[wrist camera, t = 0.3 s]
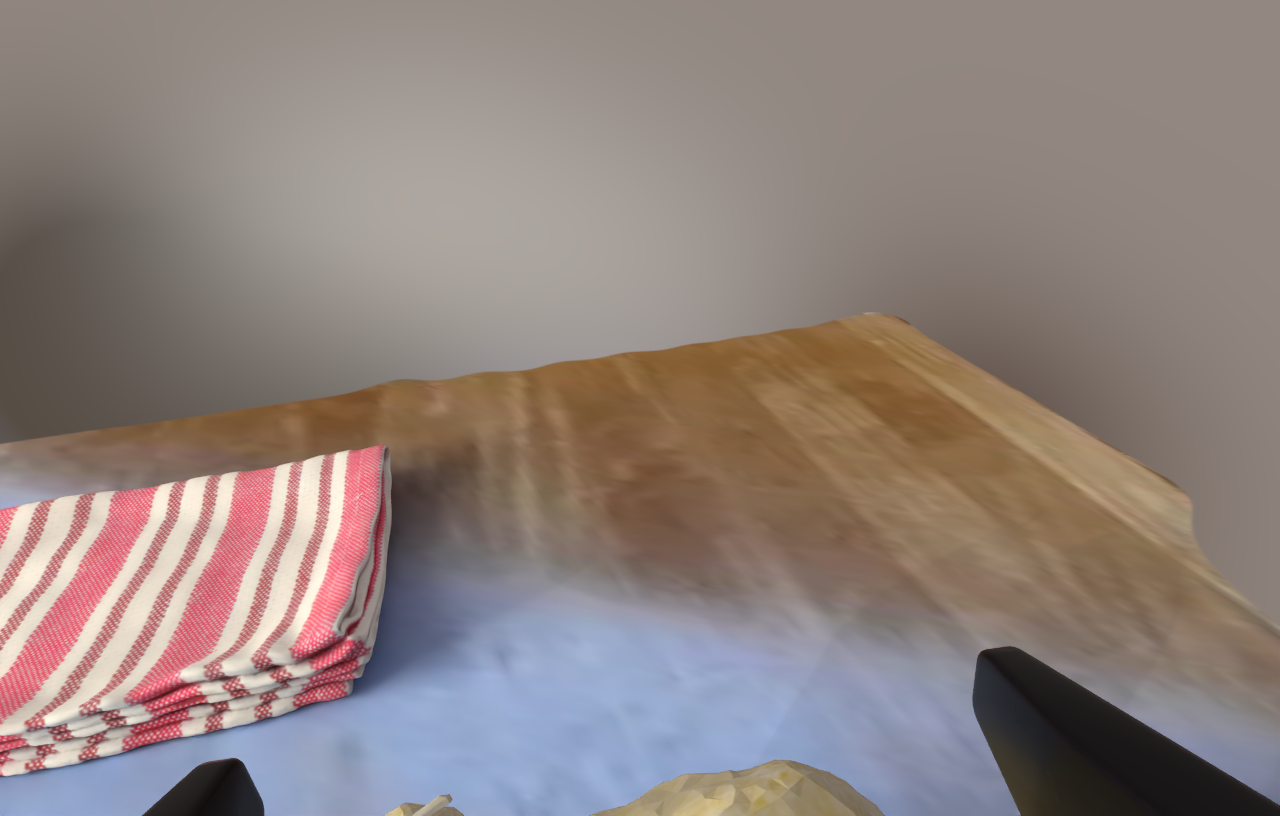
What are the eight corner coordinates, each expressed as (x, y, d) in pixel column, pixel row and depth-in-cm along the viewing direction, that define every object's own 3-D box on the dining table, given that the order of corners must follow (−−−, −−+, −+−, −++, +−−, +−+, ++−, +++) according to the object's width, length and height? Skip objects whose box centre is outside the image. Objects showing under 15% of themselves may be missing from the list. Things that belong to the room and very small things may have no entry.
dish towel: (382, 696, 28) (363, 636, 26) (-332, 862, 23) (-413, 802, 21) (400, 471, 42) (388, 423, 41) (-38, 544, 38) (-73, 493, 36)
